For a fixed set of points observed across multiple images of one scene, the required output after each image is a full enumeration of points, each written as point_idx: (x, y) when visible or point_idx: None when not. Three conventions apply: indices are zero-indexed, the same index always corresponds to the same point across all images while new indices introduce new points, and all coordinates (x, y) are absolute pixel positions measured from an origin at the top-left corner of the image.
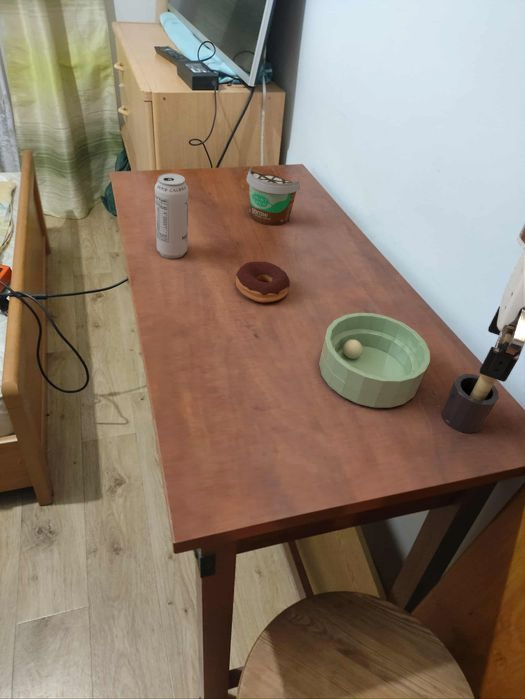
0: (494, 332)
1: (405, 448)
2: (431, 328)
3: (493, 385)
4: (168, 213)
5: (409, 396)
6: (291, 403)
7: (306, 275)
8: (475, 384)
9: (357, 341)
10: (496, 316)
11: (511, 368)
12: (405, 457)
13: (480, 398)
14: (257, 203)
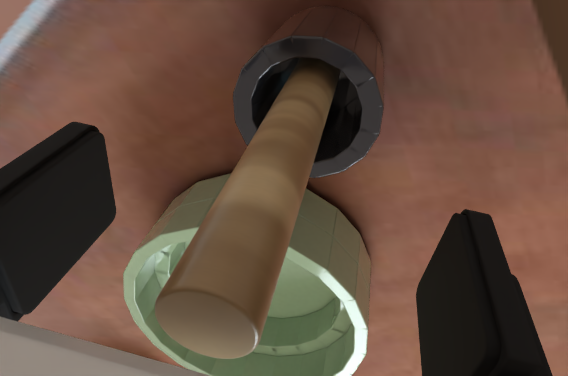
0: (110, 201)
1: (472, 201)
2: (25, 128)
3: (262, 53)
4: None
5: (325, 212)
6: (395, 359)
7: (58, 332)
8: (258, 94)
9: None
10: (57, 282)
11: (511, 287)
12: (501, 203)
13: (333, 92)
14: None
